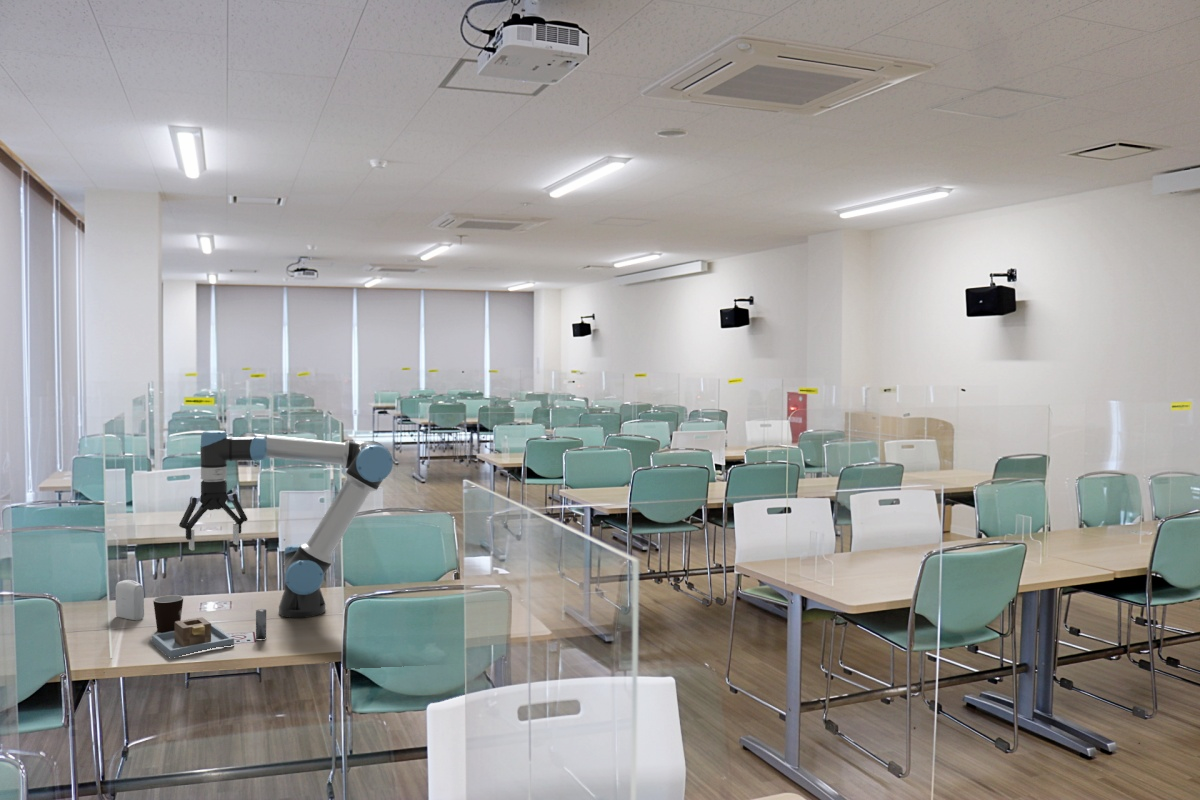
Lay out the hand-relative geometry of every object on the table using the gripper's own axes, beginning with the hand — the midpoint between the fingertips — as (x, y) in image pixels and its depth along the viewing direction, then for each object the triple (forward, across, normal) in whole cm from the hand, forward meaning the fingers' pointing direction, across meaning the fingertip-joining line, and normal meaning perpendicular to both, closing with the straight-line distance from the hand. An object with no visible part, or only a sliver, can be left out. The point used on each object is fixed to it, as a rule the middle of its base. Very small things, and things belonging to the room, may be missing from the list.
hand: (214, 546), depth 290 cm
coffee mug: (+27, -10, +9) cm, 30 cm away
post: (+27, +8, -18) cm, 33 cm away
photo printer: (+27, -17, +29) cm, 43 cm away
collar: (+26, -10, -11) cm, 30 cm away
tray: (+27, -10, -11) cm, 30 cm away
